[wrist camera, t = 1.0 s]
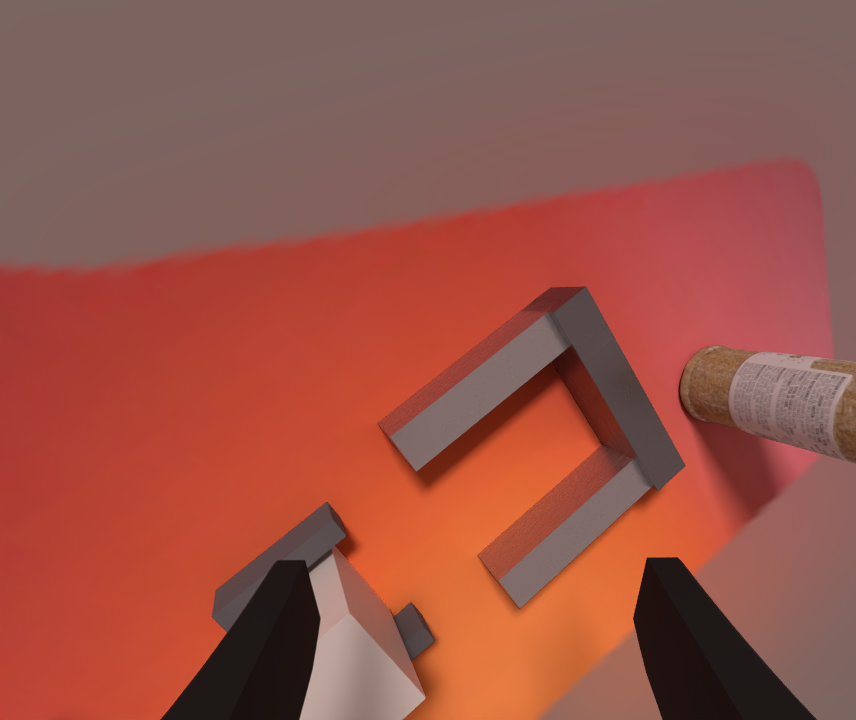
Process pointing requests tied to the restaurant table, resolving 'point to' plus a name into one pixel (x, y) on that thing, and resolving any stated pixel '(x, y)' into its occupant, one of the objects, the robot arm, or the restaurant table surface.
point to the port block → (600, 403)
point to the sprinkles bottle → (776, 397)
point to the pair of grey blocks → (309, 546)
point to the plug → (356, 651)
